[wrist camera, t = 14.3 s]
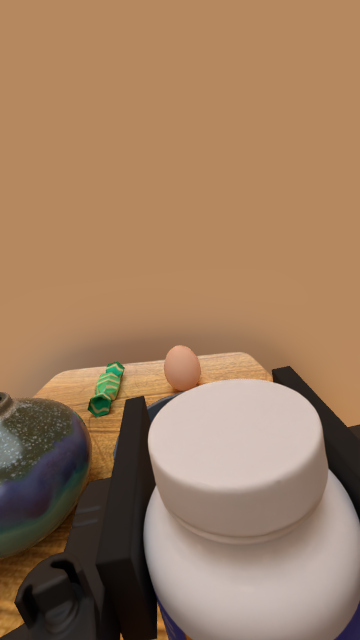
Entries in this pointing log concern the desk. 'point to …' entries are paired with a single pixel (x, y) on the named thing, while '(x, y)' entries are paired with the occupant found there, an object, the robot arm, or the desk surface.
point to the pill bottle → (249, 519)
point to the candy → (106, 389)
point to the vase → (39, 469)
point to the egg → (182, 368)
